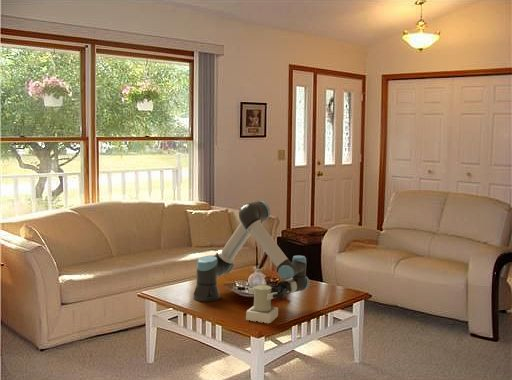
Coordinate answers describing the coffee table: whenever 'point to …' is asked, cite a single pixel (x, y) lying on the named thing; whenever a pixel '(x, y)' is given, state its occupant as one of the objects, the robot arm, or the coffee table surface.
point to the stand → (262, 315)
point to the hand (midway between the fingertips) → (258, 294)
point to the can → (262, 298)
